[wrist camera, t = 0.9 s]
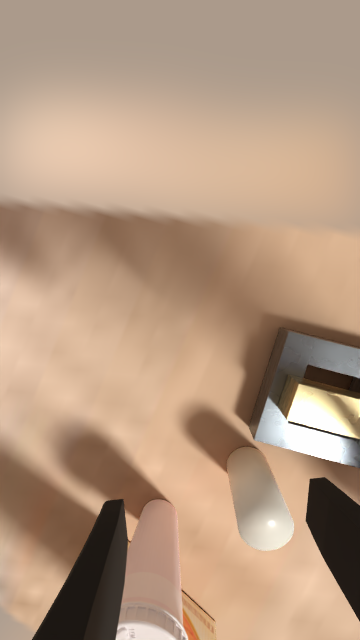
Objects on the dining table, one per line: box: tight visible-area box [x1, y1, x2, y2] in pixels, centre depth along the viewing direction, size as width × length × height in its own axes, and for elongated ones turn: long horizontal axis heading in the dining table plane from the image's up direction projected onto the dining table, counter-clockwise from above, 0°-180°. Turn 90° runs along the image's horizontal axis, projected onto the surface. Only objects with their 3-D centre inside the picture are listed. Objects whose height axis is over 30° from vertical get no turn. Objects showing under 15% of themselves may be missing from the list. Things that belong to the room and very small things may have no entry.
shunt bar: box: [278, 374, 360, 439], centre depth 18 cm, size 8×3×2 cm, turn 76°
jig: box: [249, 328, 360, 468], centre depth 20 cm, size 14×10×3 cm
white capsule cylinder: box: [226, 447, 294, 551], centre depth 20 cm, size 4×4×6 cm
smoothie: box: [116, 499, 188, 640], centre depth 17 cm, size 6×6×14 cm
